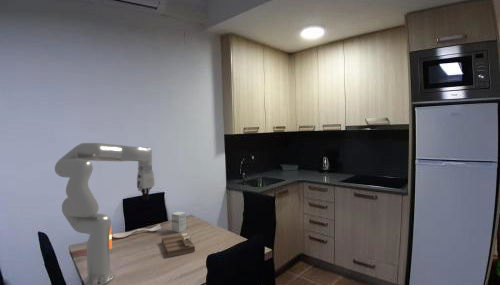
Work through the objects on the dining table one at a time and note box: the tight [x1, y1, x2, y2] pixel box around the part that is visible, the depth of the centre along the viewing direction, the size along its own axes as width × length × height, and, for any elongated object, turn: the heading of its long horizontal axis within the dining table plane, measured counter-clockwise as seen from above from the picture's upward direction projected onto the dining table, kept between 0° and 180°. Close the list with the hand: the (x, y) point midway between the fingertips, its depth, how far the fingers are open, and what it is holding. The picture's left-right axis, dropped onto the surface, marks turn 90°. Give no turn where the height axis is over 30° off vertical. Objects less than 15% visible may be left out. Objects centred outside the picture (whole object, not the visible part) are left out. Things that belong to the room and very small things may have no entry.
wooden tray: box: [161, 232, 196, 258], centre depth 164 cm, size 24×15×6 cm, turn 27°
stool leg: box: [180, 232, 192, 246], centre depth 162 cm, size 13×3×4 cm, turn 25°
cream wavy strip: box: [112, 223, 163, 239], centre depth 187 cm, size 9×32×4 cm, turn 119°
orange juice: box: [109, 227, 113, 250], centre depth 163 cm, size 8×9×20 cm
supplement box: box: [171, 211, 187, 234], centre depth 192 cm, size 7×7×13 cm
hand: (145, 199), depth 158 cm, fingers closed
